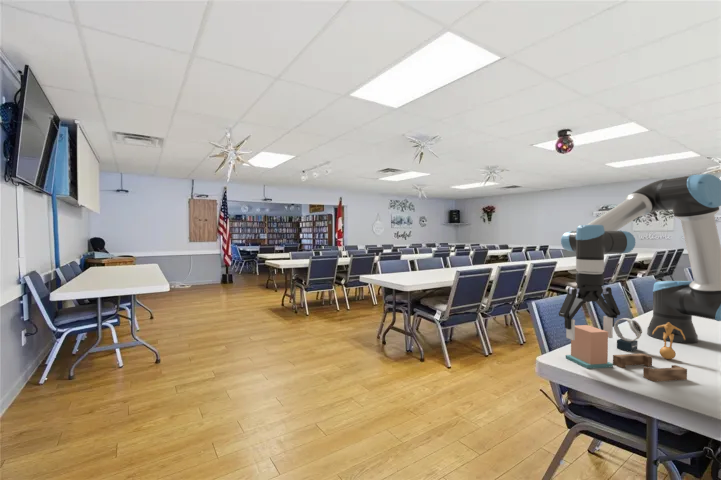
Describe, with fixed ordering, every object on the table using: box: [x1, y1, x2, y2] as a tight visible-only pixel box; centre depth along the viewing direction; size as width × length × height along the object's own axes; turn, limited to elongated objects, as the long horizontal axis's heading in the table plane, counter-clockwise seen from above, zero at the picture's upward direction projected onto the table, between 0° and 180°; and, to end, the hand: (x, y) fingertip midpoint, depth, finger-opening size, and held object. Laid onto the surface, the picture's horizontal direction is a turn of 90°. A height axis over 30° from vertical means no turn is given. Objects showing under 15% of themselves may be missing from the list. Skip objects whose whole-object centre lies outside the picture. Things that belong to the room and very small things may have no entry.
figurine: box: [652, 322, 685, 360], centre depth 114 cm, size 8×6×12 cm
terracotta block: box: [570, 324, 609, 364], centre depth 109 cm, size 6×8×10 cm
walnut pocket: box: [612, 353, 688, 383], centre depth 102 cm, size 11×13×3 cm
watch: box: [613, 317, 643, 353], centre depth 123 cm, size 6×8×11 cm
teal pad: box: [565, 354, 614, 369], centre depth 110 cm, size 9×9×1 cm
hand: (589, 338), depth 110 cm, fingers open, 13 cm apart
